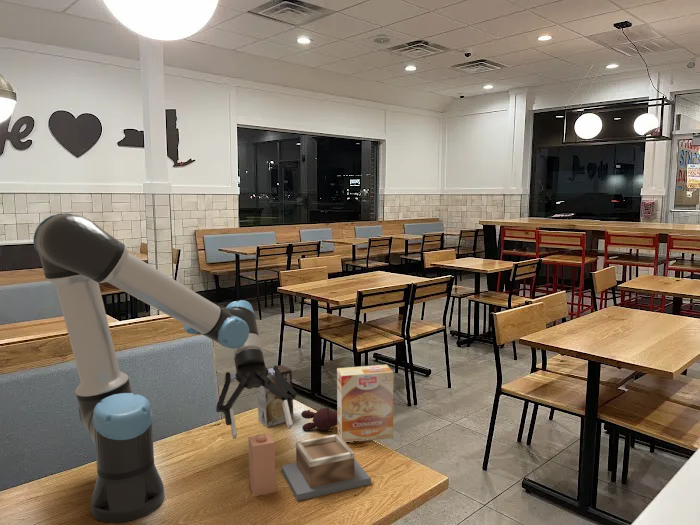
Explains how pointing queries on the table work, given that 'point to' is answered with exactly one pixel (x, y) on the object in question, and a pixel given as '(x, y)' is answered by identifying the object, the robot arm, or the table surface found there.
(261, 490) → the block
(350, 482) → the base board
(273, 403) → the coffee box
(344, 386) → the coffeecake box
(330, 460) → the brown square box
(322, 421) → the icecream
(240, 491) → the table surface
